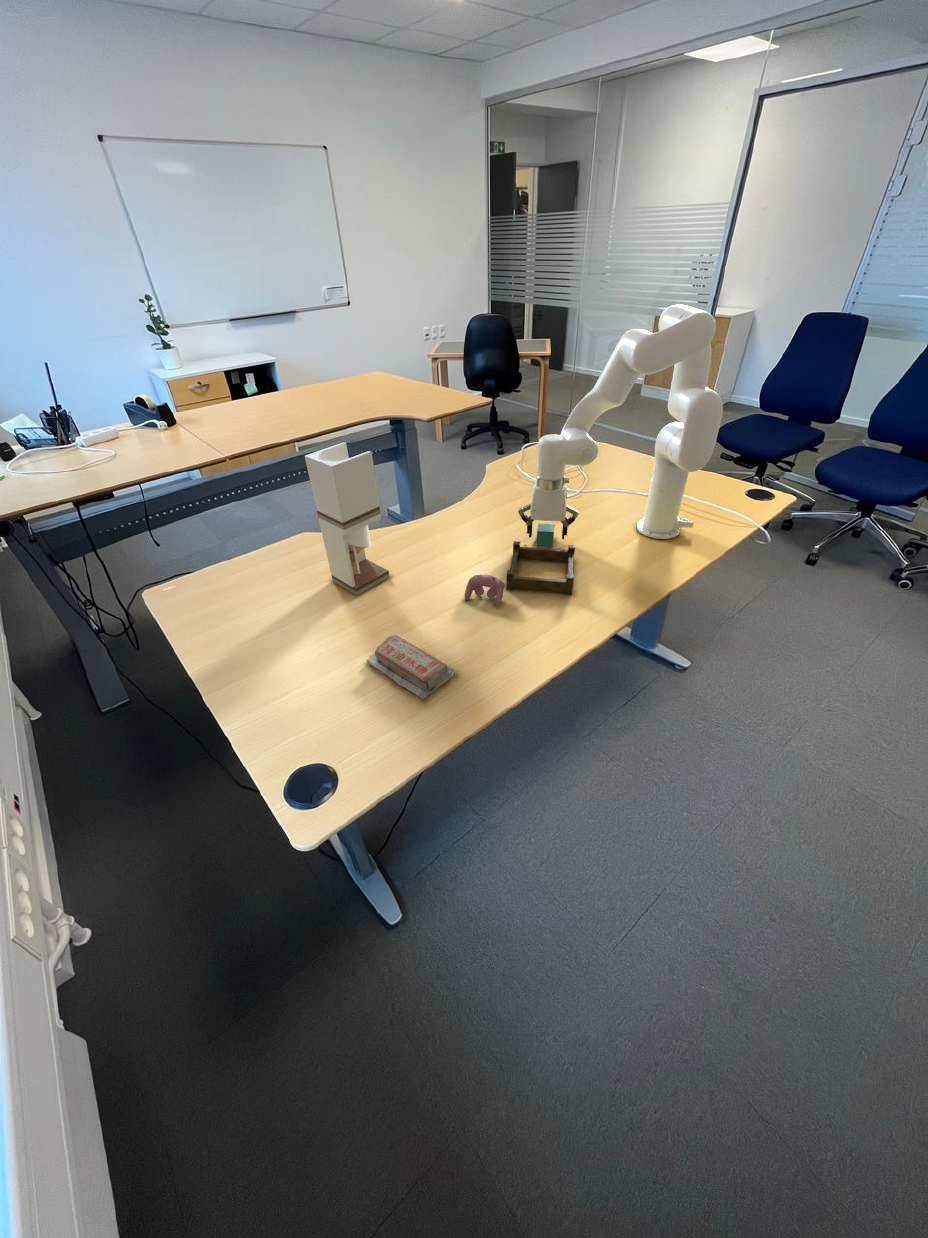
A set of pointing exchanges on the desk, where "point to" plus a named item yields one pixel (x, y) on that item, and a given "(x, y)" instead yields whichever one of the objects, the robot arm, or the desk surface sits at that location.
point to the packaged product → (410, 666)
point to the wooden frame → (541, 583)
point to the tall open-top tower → (346, 514)
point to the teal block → (545, 534)
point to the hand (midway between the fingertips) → (546, 536)
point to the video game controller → (486, 581)
